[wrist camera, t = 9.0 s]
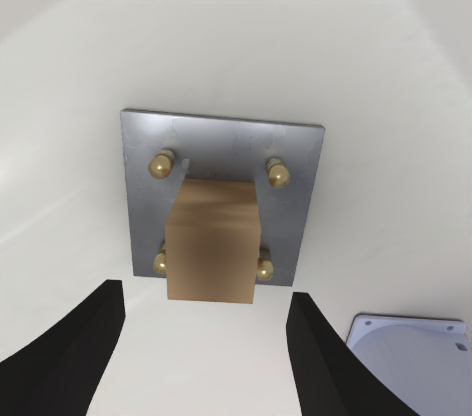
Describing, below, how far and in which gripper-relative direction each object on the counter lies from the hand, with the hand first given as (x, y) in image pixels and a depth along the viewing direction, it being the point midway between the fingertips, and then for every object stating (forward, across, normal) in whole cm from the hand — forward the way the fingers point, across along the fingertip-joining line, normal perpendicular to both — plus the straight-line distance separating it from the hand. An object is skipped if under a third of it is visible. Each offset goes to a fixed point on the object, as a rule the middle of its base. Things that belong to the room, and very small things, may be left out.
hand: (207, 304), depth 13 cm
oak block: (+9, 0, 0) cm, 9 cm away
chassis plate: (+9, 0, 0) cm, 9 cm away
